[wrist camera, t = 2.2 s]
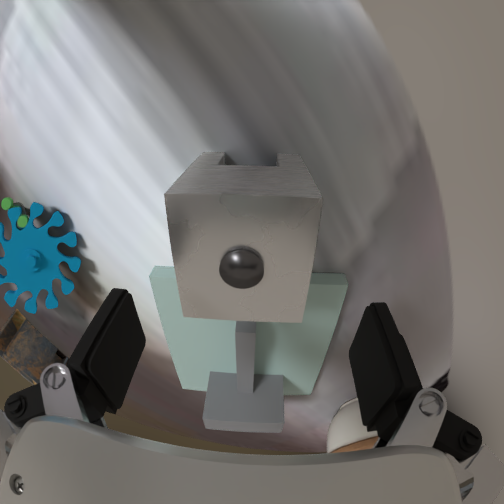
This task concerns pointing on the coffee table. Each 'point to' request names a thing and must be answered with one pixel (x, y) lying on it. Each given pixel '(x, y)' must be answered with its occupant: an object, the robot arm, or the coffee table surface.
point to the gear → (34, 255)
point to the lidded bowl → (349, 430)
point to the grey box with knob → (244, 238)
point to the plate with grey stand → (249, 354)
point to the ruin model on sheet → (26, 348)
